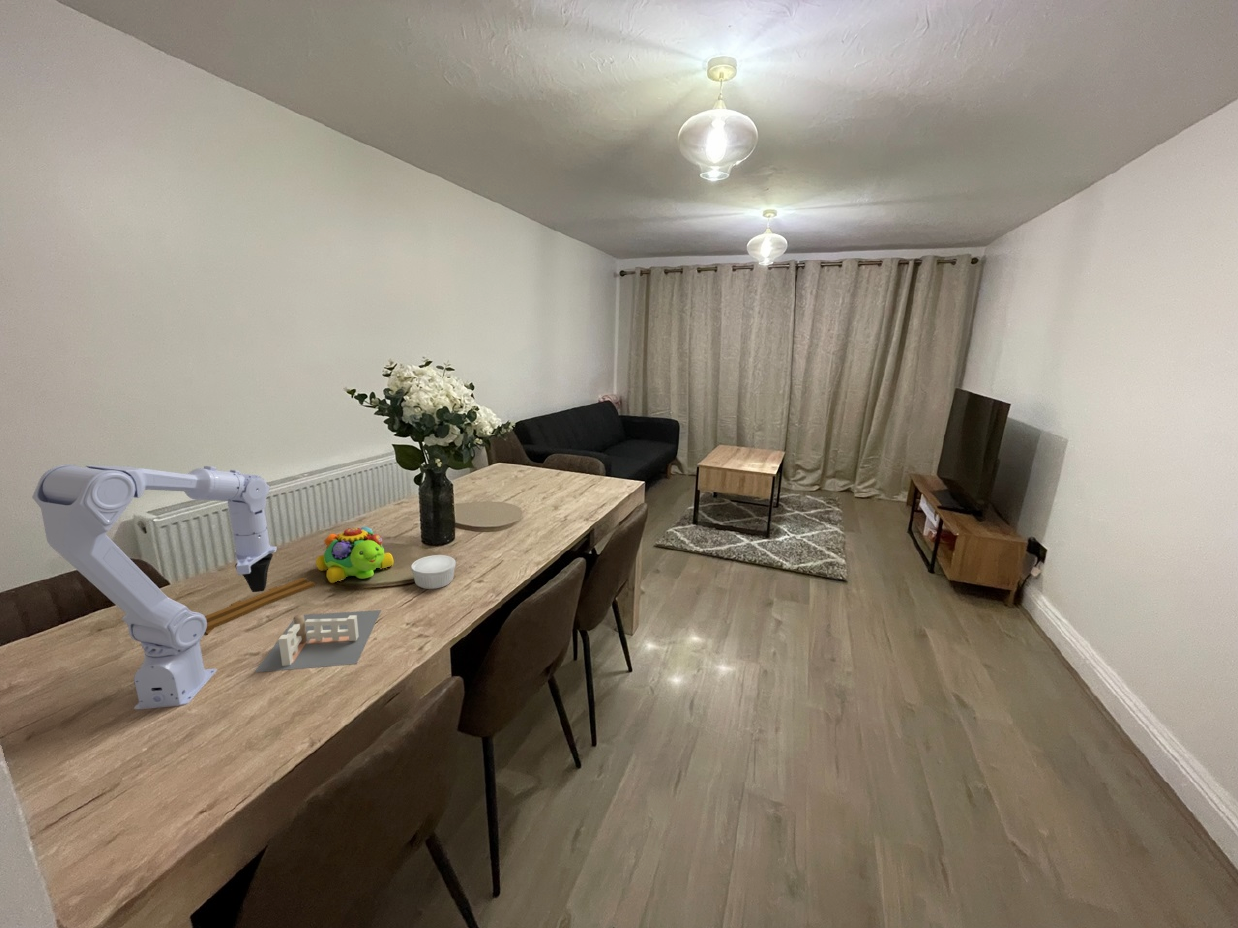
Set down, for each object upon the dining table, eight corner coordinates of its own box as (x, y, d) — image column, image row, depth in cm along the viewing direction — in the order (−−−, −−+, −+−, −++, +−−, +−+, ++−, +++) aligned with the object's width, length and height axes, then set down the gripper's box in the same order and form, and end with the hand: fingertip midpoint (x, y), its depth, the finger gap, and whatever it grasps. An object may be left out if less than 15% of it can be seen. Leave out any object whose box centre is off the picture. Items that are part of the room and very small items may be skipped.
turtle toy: (340, 599, 121) (336, 555, 119) (312, 566, 137) (307, 527, 134) (408, 578, 133) (406, 538, 130) (375, 550, 149) (372, 513, 146)
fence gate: (306, 642, 103) (304, 620, 102) (310, 638, 104) (307, 616, 103) (356, 640, 105) (354, 618, 103) (358, 636, 106) (356, 615, 105)
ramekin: (413, 573, 136) (412, 556, 134) (456, 569, 139) (455, 552, 138) (410, 594, 125) (409, 575, 124) (456, 589, 129) (455, 570, 128)
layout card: (356, 665, 98) (356, 663, 98) (254, 674, 94) (254, 671, 94) (381, 611, 117) (381, 609, 117) (297, 616, 113) (296, 614, 113)
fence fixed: (291, 665, 97) (287, 638, 95) (281, 665, 96) (277, 639, 95) (308, 639, 105) (305, 614, 103) (299, 639, 104) (295, 614, 103)
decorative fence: (180, 628, 108) (203, 642, 103) (178, 620, 107) (202, 634, 103) (297, 581, 129) (321, 592, 125) (296, 574, 129) (320, 585, 125)
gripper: (263, 542, 96) (272, 604, 99) (281, 516, 108) (288, 572, 112) (219, 546, 93) (229, 610, 96) (242, 519, 106) (251, 576, 109)
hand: (258, 590), depth 104 cm, fingers closed
